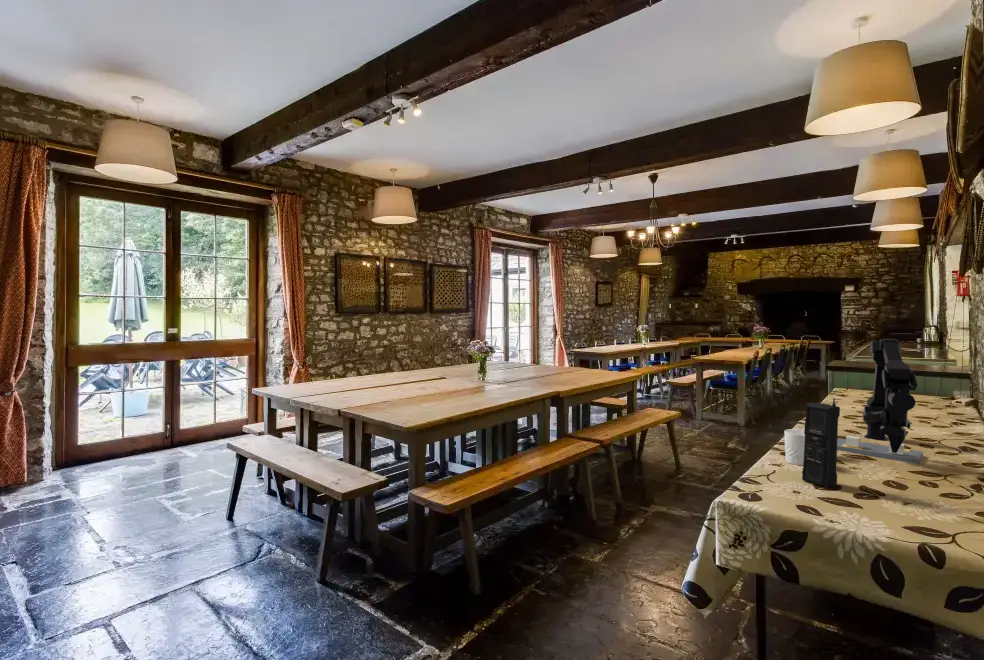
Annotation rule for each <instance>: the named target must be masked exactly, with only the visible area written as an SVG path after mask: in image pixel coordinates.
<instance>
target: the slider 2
mask: <svg viewBox="0 0 984 660" xmlns="http://www.w3.org/2000/svg"><path fill="white" fill-rule="evenodd" d="M888 446H889V453H893V452H892V449H891V445H890V443H889V444H888ZM904 449H905V444H903V443H902V444H901V446H900V448H899V449H898V451H897V453H893V454H899V455H903V454H904Z"/></svg>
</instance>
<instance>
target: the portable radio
mask: <svg viewBox="0 0 984 660" xmlns="http://www.w3.org/2000/svg"><path fill="white" fill-rule="evenodd" d="M832 399H833V402H832V405H831V404H826V403H820V402H810V403H809V402H807V403H806V404H805V422H804V430H803V431H804V434H805V443H804V462H803V466H802V474H801V475H802V476H801V477H802V479H801V480H802V481H804V482H807V483H810V484H813V485H816V486H819V487H822V488H825V489H826V488H830V487H835V486H836V485H837V484H838V473H837V461H838V458H837V457H838V456H837V455H838V450H837V439H838V436H839V435H838V430H839V428H838V427H839V417H840V415H841V406H837V404H836V403H835V402H836V397H833V398H832Z"/></svg>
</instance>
